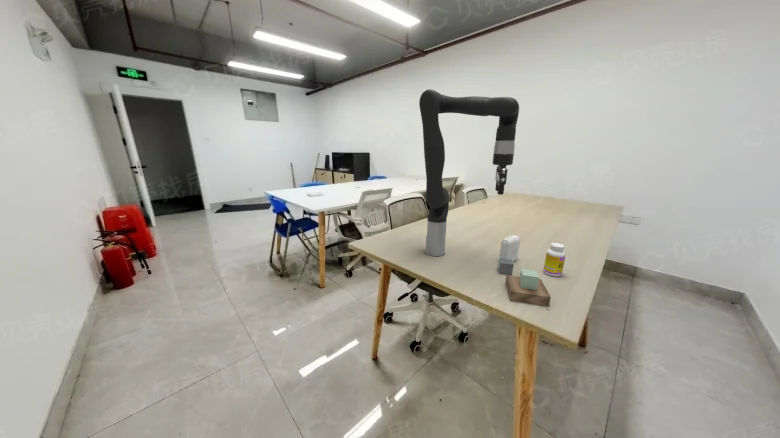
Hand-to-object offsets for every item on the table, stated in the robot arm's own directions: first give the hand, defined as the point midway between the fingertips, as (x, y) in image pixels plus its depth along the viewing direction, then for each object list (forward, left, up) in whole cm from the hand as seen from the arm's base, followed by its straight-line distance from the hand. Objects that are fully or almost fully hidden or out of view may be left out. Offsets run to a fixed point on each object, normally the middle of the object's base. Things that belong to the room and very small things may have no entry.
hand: (499, 192), depth 104 cm
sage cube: (+10, -22, -30) cm, 38 cm away
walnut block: (+10, -22, -34) cm, 41 cm away
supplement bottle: (+24, -2, -33) cm, 41 cm away
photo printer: (+8, +6, -33) cm, 35 cm away
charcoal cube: (+5, -6, -33) cm, 34 cm away
